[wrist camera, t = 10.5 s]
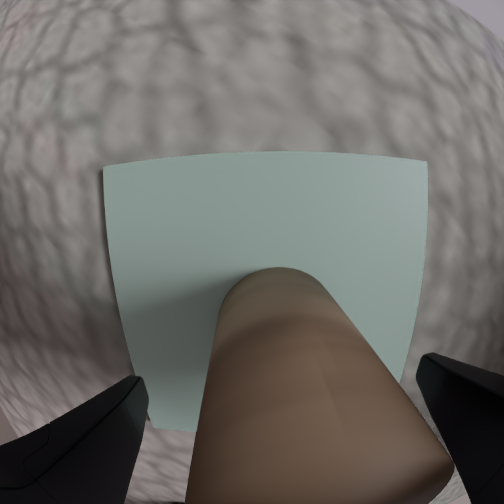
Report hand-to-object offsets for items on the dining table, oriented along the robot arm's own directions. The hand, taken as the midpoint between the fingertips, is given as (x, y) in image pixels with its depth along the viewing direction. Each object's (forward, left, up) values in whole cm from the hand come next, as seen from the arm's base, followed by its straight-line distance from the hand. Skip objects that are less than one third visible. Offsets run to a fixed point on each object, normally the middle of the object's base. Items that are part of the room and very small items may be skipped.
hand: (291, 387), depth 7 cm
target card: (0, 0, -5) cm, 5 cm away
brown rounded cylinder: (0, 0, -4) cm, 4 cm away
